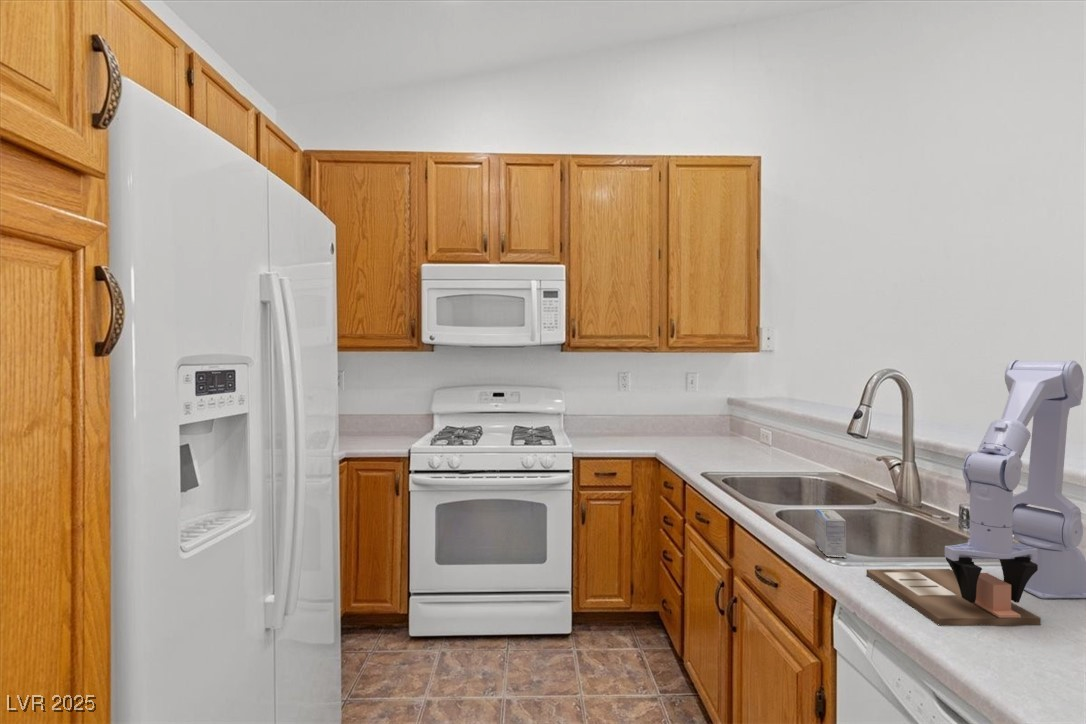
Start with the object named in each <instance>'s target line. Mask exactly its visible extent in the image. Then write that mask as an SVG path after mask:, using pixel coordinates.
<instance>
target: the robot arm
mask: <svg viewBox="0 0 1086 724" xmlns="http://www.w3.org/2000/svg"><path fill="white" fill-rule="evenodd" d="M1084 379H1085V376H1084V372H1083V367H1082V366H1081V364H1080V363H1078V362H1077V361H1076V360H1067V361H1066V360H1064V361H1063V360H1017V359H1013V360H1011V361H1010V362H1009V363H1008V364H1007V365H1006V367H1005V370H1004V382H1005V384H1006V388H1007V391H1008V393H1009V394H1008V397H1007V400H1006V403H1005V406H1004V408H1003V412H1002V415H1001V419H996V420H994V421H992V422H990V424H989V426H988V428H987V430H986V432H985V434H984V436H983V438H982V440H981V443H980V444H979V446H978V448H977V451H974V452H972V453H969V454H967V455H966V457H965V458H964V461H963V466H962V476H963V479H964V481H965V490H966V493H968V494H969V539H967V542H964V543H963V542H962V543H959V544H955V545H954V544H953V545H944V557H945V561H946V562H947V564H948V565H949V566H950V568H951V570H952V571H953V572H954V574H955V577H956V579H957V582H958V585H959V588H960V592H961V595H962V598H963V599H965V600H967V601H969V602H970V603H975V600H976V589H977V581H978V577H979V575H980V573H982V570H983V568H982V567H981V566H979V565H976V564H975V561H973V560H999V562H1000V566H1001V570H1002V577H1003V581H1004V582H1006V583H1008V584H1010V585H1011V602H1014V603H1020V600H1021V598H1022V595H1023V593H1024V591H1026V592H1027V593H1029V594H1032V595H1033V596H1036V597H1037V598H1039V599H1040V598H1041V599H1086V557H1085V554H1084V552H1082V550H1081V549H1080V548H1079V547H1078V546H1080V544H1081V542H1082V539H1083V534H1084V525H1083V522H1082V511H1081V509H1080V508H1079V506H1077V504H1075V503H1074V502H1072V501H1071V500H1070V499H1069V498H1067V497H1066V496H1065V495H1064V494H1063V484H1064V483H1063V482H1064V481H1063V480H1064V470H1065V469H1064V468H1065V459H1066V458H1065V457H1066V445H1067V444H1066V443H1067V431H1068V419H1069V415H1070V414H1069V413H1070V409H1072V408H1075V407H1078V406H1080V405H1081V404H1082V400H1083V395H1084V394H1083V393H1084V383H1085V381H1084ZM1031 420H1032V426H1031V428H1032V429H1031V432H1030V430H1029V429H1028V428H1027V426H1028V425H1029V424H1030V422H1031ZM1030 439H1031V441H1030ZM1029 441H1030V453H1029V465H1028V477H1027V488H1026V490H1024V491H1021V492H1019V493H1016V494H1014V490H1016V489H1017V487H1018V485H1019V484H1020V480H1021V475H1022V468H1023V462H1022V460H1021V458H1022V456H1023V455H1024V452H1025V450H1026V448H1027V445H1028V443H1029ZM1029 505H1031V506H1029ZM1044 508H1047V509H1044ZM1049 509H1052V510H1049ZM1053 510H1055V511H1053ZM1058 511H1059V512H1058ZM1013 540H1015V541H1017V544H1013V543H1014V541H1013Z"/></svg>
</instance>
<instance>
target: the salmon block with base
mask: <svg viewBox="0 0 1086 724" xmlns="http://www.w3.org/2000/svg"><path fill="white" fill-rule="evenodd" d="M961 596H962V595H961ZM1011 602H1012V600H1011V585H1010V584H1008V583H1006V582H1004V580H1002V579H1000V578H999V577H996V576H995V575H992V574H990V573H989V572H980V575H979V577H978V581H977V589H976V600H975V604H977V605H978V606H980V607H982V608H984V609H985V610H987V611H989V612H990V613H992V614H994V615H996V616H997V617H999V618H1010V617H1021V615H1020V614H1018V613H1016V612H1014V611H1013V610H1011Z"/></svg>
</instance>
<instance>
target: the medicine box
mask: <svg viewBox="0 0 1086 724" xmlns="http://www.w3.org/2000/svg"><path fill="white" fill-rule="evenodd" d="M846 522H847V520H845V518H843V517H842V516H841V515H840V514H839V513H837V511H835V510H834V509H833V510H831V509H815V510H814V544H816V545H817V546H818V547H819V548H820V549H821V550H822V551H823V552H824V554H825V555H836V556H837V555H838V556H846V557H847V529H846V528H847V525H846V524H847V523H846ZM816 545H815V546H816ZM817 546H816V547H817ZM818 547H817V548H818ZM819 548H818V549H819ZM820 549H819V550H820ZM821 550H820V551H821ZM824 554H823V555H824ZM825 555H824V556H825Z"/></svg>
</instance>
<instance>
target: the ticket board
mask: <svg viewBox="0 0 1086 724" xmlns="http://www.w3.org/2000/svg"><path fill="white" fill-rule="evenodd" d="M866 576H867V577H868V578H870V579H871V580H872V581H874V582H876V584H878V585H880V586H881V587H883V588H884V589H886V590H887V591H888V592H890V593H891V594H893V595H894V596H896V597H897V598H899V599H900V600H901V599H902V600H901V601H903V602H904V601H905V604H907V603H908V605H909V606H910V605H911V606H910V607H911V608H913V609H914V608H915V610H916V611H917V610H918V611H917V612H919V613H920V614H922V615H923V616H924V617H926V618H927V617H928V620H930V619H931V621H932V622H933V621H934V622H933V623H934V624H936V623H937V624H936V625H938V624H939V625H950V626H1041V625H1042V624H1041V623H1042V621H1041V619H1042V618H1041V617H1040V616H1038V615H1036V614H1035V613H1032V612H1031V611H1029V610H1027V609H1025V608H1023V607H1021V606H1019V605H1017V604H1016V603H1015V602H1014V603H1013V601H1011V610H1013V611H1014V612H1016V613H1018V614H1020V615H1021V617H1010V618H999V617H997V616H996V615H994V614H992V613H990V612H989V611H987V610H985V609H984V608H982V607H980V606H978V605H977V604H975V603H970V602H969V601H967V600H965V599H963V598H962V596H961V592H960V588H959V585H958V582H957V579H956V577H955V574H954V572H953V570H952V569H950V568H912V569H911V568H907V569H906V568H905V569H904V568H896V569H895V568H893V569H892V568H891V569H889V568H888V569H887V568H885V569H881V568H879V569H878V568H877V569H869V568H868V569H866ZM939 625H938V626H939Z"/></svg>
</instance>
